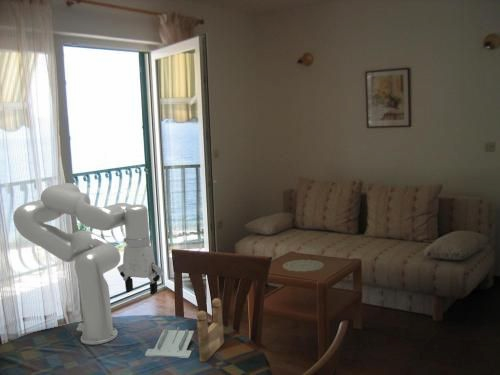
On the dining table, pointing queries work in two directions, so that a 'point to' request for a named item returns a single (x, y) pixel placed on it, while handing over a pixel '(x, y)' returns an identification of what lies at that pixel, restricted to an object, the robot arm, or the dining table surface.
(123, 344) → the dining table surface
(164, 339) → the metal bracket
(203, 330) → the headboard
